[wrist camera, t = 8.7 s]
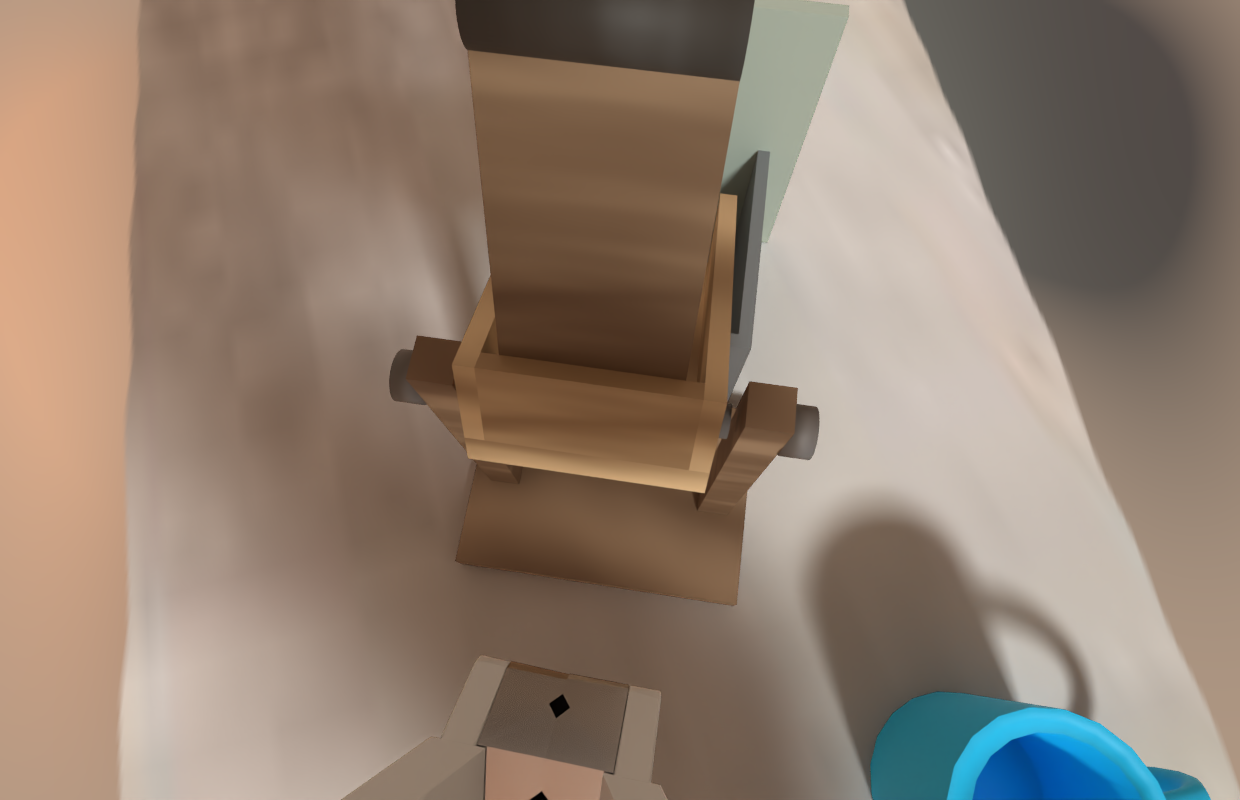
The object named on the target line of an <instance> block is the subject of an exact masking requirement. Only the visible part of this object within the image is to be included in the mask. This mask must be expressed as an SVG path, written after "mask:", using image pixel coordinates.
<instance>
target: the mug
mask: <svg viewBox="0 0 1240 800" xmlns="http://www.w3.org/2000/svg"><path fill="white" fill-rule="evenodd" d="M870 769H871V792H872V798H873V800H1211V799H1210V797H1209V795H1208V793H1207V791H1206V789H1205V788H1204V786H1203V785H1202V783H1201V782H1200V781H1199V780H1198V779H1196V778H1194V777H1192V776H1190V775H1187V774H1184V773H1181V772H1179V771H1173V770H1167V769H1162V768H1156V767H1146V766H1145V764H1144V763H1143V762H1142V761H1141V759H1140V758H1139V757H1138V755H1137V754H1136V753H1135V752H1134V750H1133V749H1132V748H1131V747H1130V746H1128V745H1127V744H1126V743H1124V742H1123V741H1122V740H1121V739H1119V738H1118V737H1117V736H1115V735H1114V734H1113V733H1111V732H1110V731H1109V730H1108V729H1106V728H1105V727H1104V726H1102V725H1101V724H1100V723H1097V722H1095V721H1092V720H1090V719H1087V718H1085V717H1082V716H1080V715H1077V714H1075V713H1072V712H1070V711H1067V710H1064V709H1058V708H1052V707H1046V706H1039V705H1033V704H1027V703H1021V702H1015V701H1008V700H1002V699H996V698H990V697H984V696H977V695H971V694H965V693H952V692H938V691H937V692H934V693H930V694H927V695H923V696H920V697H916V698H913V699H911V700H910V701H909V702H907V703H906V704H905V705H903V706H902V707H901V708H899V709H898V710H897V711H895V712H894V713H893V714H892V715H891V716H890V718H889V719H888V721H887V722H886V724H885V725H884V727H883V729H882V730H881V732H880V733H879V735H878V736H877V740H876V744H875V748H874V752H873V756H872V759H871V763H870Z"/></svg>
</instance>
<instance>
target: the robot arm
mask: <svg viewBox="0 0 1240 800" xmlns="http://www.w3.org/2000/svg"><path fill="white" fill-rule="evenodd" d="M628 691H629V693H628ZM627 698H628V699H627ZM626 704H627V705H626ZM660 704H661V692H660V691H658V690H653V689H648V688H642V687H637V686H632V685H630V688H629V685H628V684H623V683H617V682H612V681H607V680H601V679H596V678H591V677H585V676H580V675H575V674H566V673H561V672H557V671H552V670H548V669H544V668H539V667H535V666H530V665H526V664H522V663H517V662H513V661H506V660H502V659H497V658H493V657H488V656H484V655H480V657H479V658H478V659H477V660H476V661H475V663H474V665H473V667H472V669H471V672H470V674H469V676H468V678H467V680H466V683H465V685H464V687H463V689H462V691H461V694H460V696H459V698H458V700H457V702H456V705H455V707H454V709H453V711H452V713H451V716H450V718H449V720H448V722H447V724H446V727H445V729H444V731H443V733H442V735H441V738H437V737H430V738H428V739H427V740H426V741H424V742H423V743H421V744H420V745H418V746H417V747H416V748H414V749H413V750H411V751H410V752H408V753H407V754H406V755H404V756H403V757H401V758H400V759H398V760H397V761H396V762H394V763H393V764H391V765H390V766H388V767H387V768H386V769H384V770H383V771H381V772H380V773H378V774H377V775H376V776H374V777H373V778H371V779H370V780H368V781H367V782H366V783H364V784H363V785H361V786H360V787H358V788H357V789H356V790H354V791H353V792H351V793H350V794H348V795H347V796H346V797H344V798H343V799H341V800H668V799H667V797H666V795H665V793H664V791H663V789H662V787H661V785H658V784H654V783H651V780H652V772H653V763H654V755H655V746H656V738H657V730H658V721H659V713H660Z"/></svg>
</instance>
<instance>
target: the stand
mask: <svg viewBox="0 0 1240 800" xmlns="http://www.w3.org/2000/svg"><path fill="white" fill-rule="evenodd" d="M460 344H461V342H460V341H453V340H446V339H438V338H431V337H424V336H417V338H416V341H415V345H414V349H413V351H412V350H404V349H402V350H400V351H399V352H398V353H397V354H396V356H395V358H394V360H393V363H392V366H391V371H390V379H389V387H390V394H391V397H392V398H393V400H395V401H400V402H407V403H414V404H421V405H426V404H427V405H428V406H429V407H430V408H431V410H432V411H433V412H434V413H435V414H436V416H437V417H438V418H439V419H440V420H441V422H442V423H443V424H444V425H445V426H446V428H447V429H448V430H449V431H450V432H451V433H452V435H453V436H454V437H455V438H456V439H457V441H458V442H459V443H460V444H461V445H462V447H463V448H464V449H465V450H466V451H467V449H466V444H465V438H464V432H463V426H462V421H461V415H460V409H459V404H458V398H457V392H456V386H455V381H454V375H453V369H452V363H453V361H454V358H455V356H456V354H457V351H458V349H459V347H460ZM797 391H798V388H794V387H786V386H779V385H772V384H765V383H757V382H749V384H748V386H747V388H746V390H745V392H744V394H743V396H742V398H741V400H740V402H739V404H738V406H737V408H732V414H731V422H730V428H729V433H728V437H727V439H721V438H718V442H717V446H716V450H715V454H714V458H713V462H712V466H711V470H710V474H709V478H708V482H707V486H706V490H705V493H700V492H693V491H686V490H679V489H673V488H666V487H659V486H652V485H645V484H639V483H632V482H625V481H618V480H611V479H605V478H598V477H591V476H584V475H578V474H571V473H564V472H557V471H550V470H544V469H537V468H530V467H523V466H516V465H510V464H503V463H496V462H489V461H482V460H476V459H473V460H474V461H475V462H476V463H477V465H476V470H475V474H474V479H473V483H472V488H471V492H470V497H469V501H468V506H467V510H466V515H465V519H464V524H463V528H462V533H461V537H460V542H459V546H458V551H457V555H456V560H455V561H457V562H459V563H462V564H468V565H474V566H481V567H487V568H494V569H500V570H507V571H513V572H519V573H526V574H532V575H539V576H545V577H552V578H558V579H564V580H571V581H577V582H584V583H590V584H597V585H603V586H609V587H616V588H622V589H629V590H635V591H642V592H648V593H654V594H661V595H667V596H674V597H680V598H687V599H693V600H699V601H706V602H712V603H719V604H725V605H732V606H734V605H737V595H738V584H739V573H740V562H741V552H742V541H743V530H744V519H745V509H746V498H747V490H748V489H749V488H750V487H751V486H752V484H753V483H754V482H755V481H756V480H757V478H758V477H759V476H760V475H761V474H762V472H763V471H764V470H765V469H766V467H767V466H768V465H769V464H770V463H771V461H772V460H773V459H774V458H775V457H776V455H778V456H784V457H791V458H798V459H805V460H810V459H811V458H812V456H813V454H814V451H815V448H816V444H817V439H818V433H819V411H818V408H817V407H814V406H807V405H799V404H797Z"/></svg>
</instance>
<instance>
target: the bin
mask: <svg viewBox="0 0 1240 800" xmlns="http://www.w3.org/2000/svg"><path fill="white" fill-rule="evenodd" d="M848 17H849V5H840V4H831V3H821V2H812V1H803V0H755V2H754V9H753V16H752V22H751V28H750V34H749V40H748V45H747V51H746V56H745V61H744V66H743V71H742V75H741V79H740V83H739V89H738V94H737V100H736V105H735V111H734V116H733V122H732V128H731V133H730V139H729V144H728V150H727V155H726V161H725V167H724V172H723V178H722V183H721V189H720V193H721V194H729V195H737V212H736V233H735V253H734V274H733V294H732V315H731V335H730V356H729V376H728V397H727V402H728V400H729V398H730V396H731V393H732V391H733V389H734V386H735V384H736V382H737V380H738V377H739V375H740V373H741V370H742V368H743V366H744V363H745V361H746V359H747V357H748V354H749V352H750V350H751V344H752V334H753V324H754V313H755V303H756V293H757V283H758V272H759V262H760V252H761V242H765V243H767V242H768V239H769V237H770V234H771V231H772V228H773V225H774V223H775V220H776V217H777V214H778V212H779V209H780V206H781V203H782V200H783V198H784V195H785V192H786V189H787V187H788V184H789V181H790V178H791V175H792V173H793V170H794V167H795V164H796V162H797V159H798V156H799V153H800V151H801V148H802V145H803V142H804V139H805V137H806V134H807V131H808V128H809V126H810V123H811V120H812V117H813V114H814V112H815V109H816V106H817V103H818V101H819V98H820V95H821V92H822V89H823V87H824V84H825V81H826V78H827V76H828V73H829V70H830V67H831V64H832V62H833V59H834V56H835V53H836V51H837V48H838V45H839V42H840V40H841V37H842V34H843V31H844V28H845V26H846V23H847V20H848ZM719 198H720V194H719ZM718 203H719V200H718ZM717 209H718V206H717ZM716 215H717V211H716ZM715 220H716V217H715ZM714 226H715V222H714ZM713 231H714V228H713ZM712 237H713V233H712ZM711 242H712V239H711ZM710 248H711V245H710ZM709 253H710V250H709ZM708 259H709V256H708ZM707 263H708V261H707Z"/></svg>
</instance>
